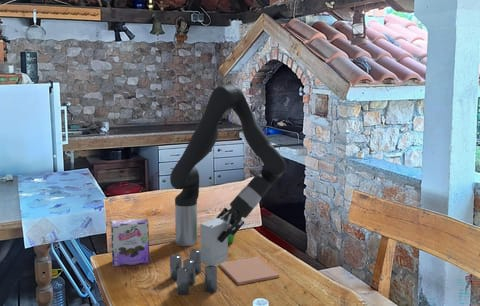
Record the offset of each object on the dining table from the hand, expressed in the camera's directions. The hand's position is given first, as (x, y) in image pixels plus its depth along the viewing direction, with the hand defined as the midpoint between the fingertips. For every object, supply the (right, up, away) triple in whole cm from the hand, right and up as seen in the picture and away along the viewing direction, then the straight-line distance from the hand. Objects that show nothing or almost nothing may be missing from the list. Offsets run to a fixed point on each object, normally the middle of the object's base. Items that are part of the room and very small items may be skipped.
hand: (215, 237), depth 167 cm
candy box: (-33, -13, +16) cm, 39 cm away
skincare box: (0, -9, +1) cm, 9 cm away
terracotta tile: (+12, -14, +9) cm, 20 cm away
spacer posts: (-8, -16, -1) cm, 18 cm away
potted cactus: (+4, -9, +41) cm, 42 cm away
